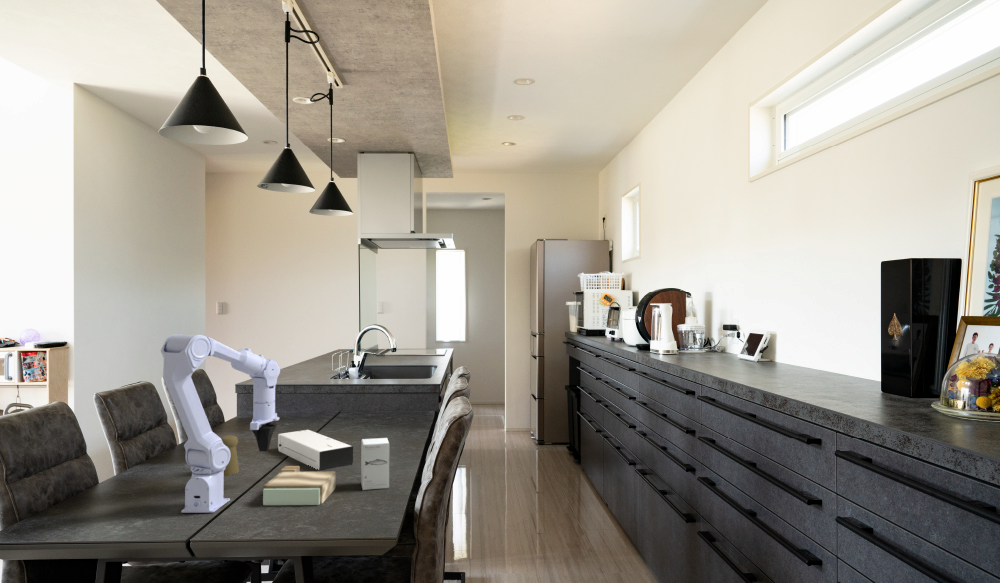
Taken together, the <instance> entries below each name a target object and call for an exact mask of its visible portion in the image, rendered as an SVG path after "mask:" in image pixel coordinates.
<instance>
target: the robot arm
mask: <svg viewBox="0 0 1000 583" xmlns="http://www.w3.org/2000/svg"><path fill="white" fill-rule="evenodd" d="M160 353H161V355H162V358H163V370H162V375H163V381H164V383H165V386H166V388H167V390H168V393H169V395H170V398H171V400H172V402H173V404H174V407H175V410H176V413H177V414H178V417H179V420H180V422H181V424H182V426H183V429H184V432H185V433H186V437H187V441H185V443H184V445H183V447H184V449H185V457H184V458H185V462H186V464H187V465H188V466H189V467H190V471H191V477H190V479H189V480H188V481H187V482H186V485H185V486H184V487H185V488H184V493H185V494H184V508H182V510H181V511H180V512H181V513H182V514H183V513H184V514H185V513H187V514H188V513H189V514H191V513H192V514H193V513H195V514H196V513H202V514H203V513H206V514H207V513H215V512H216V511H217V510H219V509H220V508H221V507H223V506H224V505H225V504H227V503H228V502H229V501H230V500H231V498H229V497H228V498H226V497H224V491H225V490H224V486H225V485H224V483H225V482H224V481H225V480H224V470H225V467H226V466H227V465H228V463H229V461H230V456H231V453H230V450H229V448H228V447H227V446H225V445H224V444H223V442H222V439H221V438H222V437H220V436H218V434H216V433H215V432H213V430H212V427H211V425H210V423H209V420H208V417H207V414H206V412H205V410H204V407H203V405H202V402H201V399H200V396H199V394H198V392H197V389H196V386H195V384H194V381H193V378H192V375H193V373H195V372H196V370H198V368H199V367H200V366H201V365H202V364H203V362H204V361H205V360H206V359H207V358H208V357H213V358H217V359H220V360H222V361H225V362H229V363H230V365H231V368H233V369H234V370H236V371H239V372H241V373H244V374H246V375H248V376H249V377H250V379H252V380H253V383H252V384H253V393H252V394H253V395H252V397H253V400H252V401H253V406H252V409H253V410H252V415H253V416H252V420H251V422H250V423H249V430H250V431H252V433H253V434H254V437H255V439H256V440H255V441H256V443H257V446H258V451H259V452H268V451H269V449H270V446H271V441H272V438H273V434H274V432H275V430H276V427H277V423H275V422H277V421H279V420H280V417H279V416H278V412H276V386H277V383H278V377H279V375H280V373H281V368H280V367H279V364H278V363H277V361H276V360H275V359H269V358H265V356H264V355H263V354H256V353H254V352H252V349H251V348H241V349H238V350H235V349H233V348H232V347H230V346H227V345H226V344H224V343H222V342H220V341H218V340H216V339H214V338H212V337H209V336H208V337H207V336H205V335H203V334H180V333H179V334H178V333H174V334H172V335H171V334H170V335H169V336H168V337H166V340H165V341H164V343H163V344H162V347H161V349H160ZM274 421H275V422H274ZM272 422H273V423H272Z"/></svg>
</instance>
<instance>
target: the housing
mask: <svg viewBox="0 0 1000 583" xmlns="http://www.w3.org/2000/svg"><path fill="white" fill-rule="evenodd" d="M336 472H337V471H333V470H331V471H324V470H317V471H300V472H281V471H280V472H278V473H277V474H276V475H274V477H273V478H271V479H270V480H268V481H267V482H266V483H265V484H263V486H262V488H263V490H264V489H276V488H320V504H324V502H325V501H326V500H327V499H328V498H329V496H330V495H331V494H332V493H333V492H334V491H335V489H336V474H337V473H336ZM263 490H262V491H263ZM320 504H319V505H320Z"/></svg>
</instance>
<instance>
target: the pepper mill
mask: <svg viewBox="0 0 1000 583" xmlns="http://www.w3.org/2000/svg"><path fill="white" fill-rule="evenodd" d="M220 438H221V439H222V442H223V444H224V445H225V446H227V447H228V448H229V450H230V453H231V456H230V461H229V463H228V465H227V466H226V467H225V470H224V475H226V476H232V474H233V475H236V473H237V474H239V473H240V467H239V460H238V452H237V451H238V450H237V446H238V444H239V439H238V437H237V436H235V435H225V436H221V437H220ZM238 472H239V473H238Z"/></svg>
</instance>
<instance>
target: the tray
mask: <svg viewBox="0 0 1000 583" xmlns="http://www.w3.org/2000/svg"><path fill="white" fill-rule="evenodd" d="M262 495H263V496H262V504H263V505H262V506H319V505H320V488H276V489H264V490H262Z"/></svg>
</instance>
